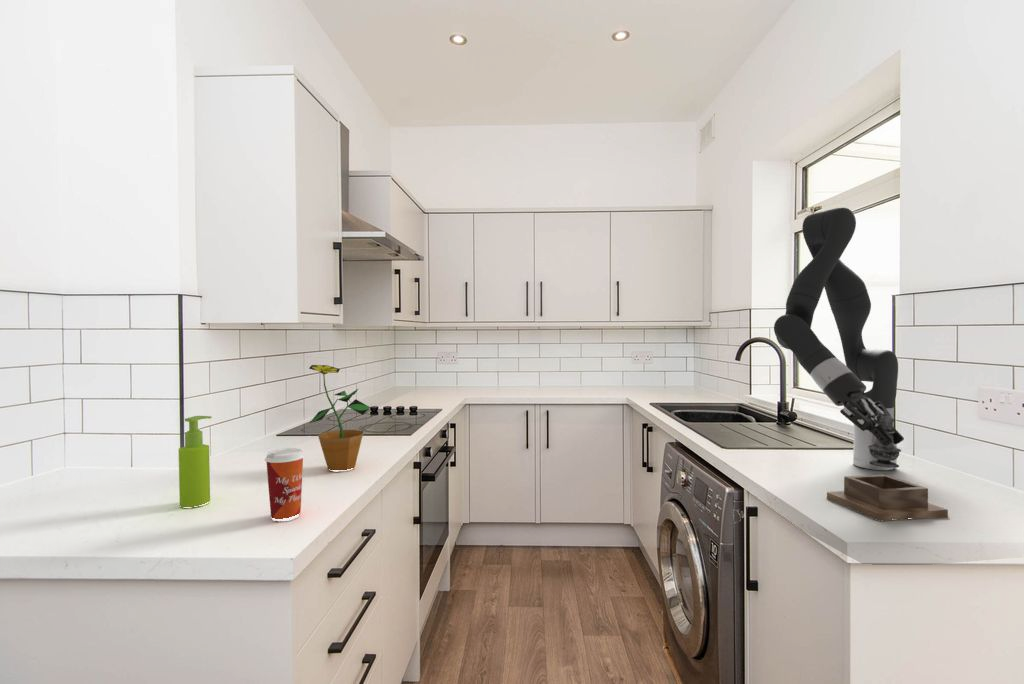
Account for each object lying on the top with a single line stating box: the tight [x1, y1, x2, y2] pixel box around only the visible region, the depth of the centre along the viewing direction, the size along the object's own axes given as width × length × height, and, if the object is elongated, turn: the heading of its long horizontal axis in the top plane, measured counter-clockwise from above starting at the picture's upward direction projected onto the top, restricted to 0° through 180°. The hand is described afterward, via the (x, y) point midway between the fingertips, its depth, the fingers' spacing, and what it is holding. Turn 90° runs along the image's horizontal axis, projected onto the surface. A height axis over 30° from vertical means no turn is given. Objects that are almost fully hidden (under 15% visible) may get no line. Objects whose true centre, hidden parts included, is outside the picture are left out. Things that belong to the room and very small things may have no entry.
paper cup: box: [264, 447, 305, 519], centre depth 106 cm, size 8×8×14 cm
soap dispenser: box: [178, 415, 212, 507], centre depth 114 cm, size 6×7×20 cm
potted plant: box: [308, 364, 371, 470], centre depth 142 cm, size 18×19×30 cm
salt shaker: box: [868, 410, 902, 469], centre depth 109 cm, size 6×6×12 cm
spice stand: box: [826, 473, 949, 522], centre depth 109 cm, size 16×14×6 cm
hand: (894, 442), depth 107 cm, fingers closed on salt shaker, 3 cm apart
